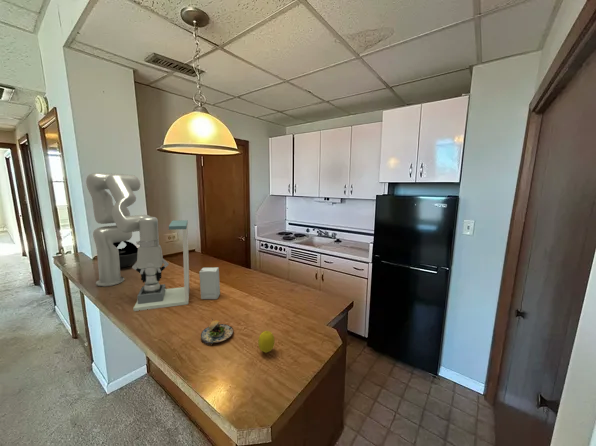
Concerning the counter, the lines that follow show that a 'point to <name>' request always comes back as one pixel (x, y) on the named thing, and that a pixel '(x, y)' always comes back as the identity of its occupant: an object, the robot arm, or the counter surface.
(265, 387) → the counter surface
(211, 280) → the skincare box
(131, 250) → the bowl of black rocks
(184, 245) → the socket stand
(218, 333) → the plate of salad
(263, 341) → the lemon
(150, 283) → the grey tall bottle shape
